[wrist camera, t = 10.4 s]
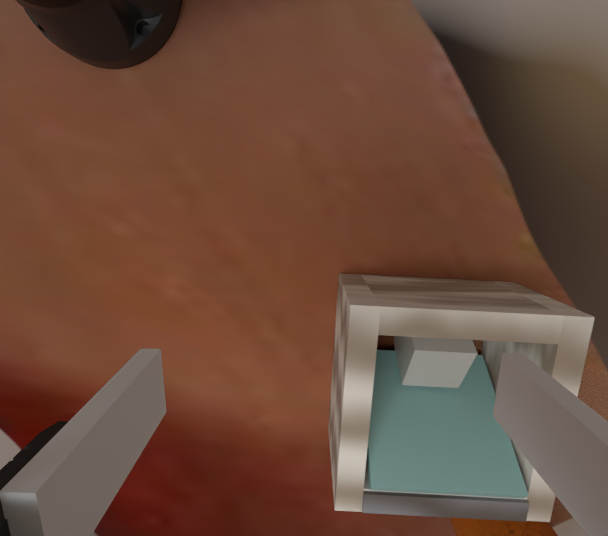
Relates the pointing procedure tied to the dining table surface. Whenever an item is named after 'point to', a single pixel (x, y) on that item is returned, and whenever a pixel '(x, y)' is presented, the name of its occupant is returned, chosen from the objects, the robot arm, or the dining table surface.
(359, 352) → the crate
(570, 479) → the robot arm
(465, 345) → the light grey cube
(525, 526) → the wine bottle
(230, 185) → the dining table surface
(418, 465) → the trapdoor
